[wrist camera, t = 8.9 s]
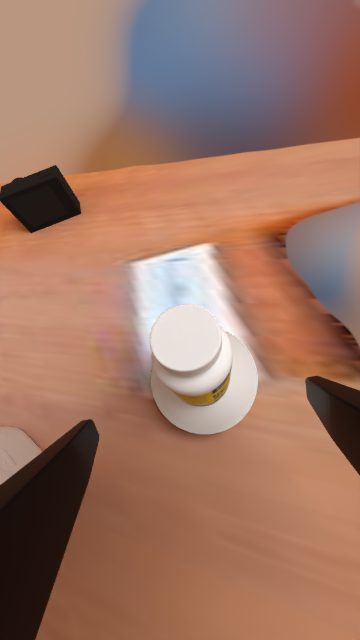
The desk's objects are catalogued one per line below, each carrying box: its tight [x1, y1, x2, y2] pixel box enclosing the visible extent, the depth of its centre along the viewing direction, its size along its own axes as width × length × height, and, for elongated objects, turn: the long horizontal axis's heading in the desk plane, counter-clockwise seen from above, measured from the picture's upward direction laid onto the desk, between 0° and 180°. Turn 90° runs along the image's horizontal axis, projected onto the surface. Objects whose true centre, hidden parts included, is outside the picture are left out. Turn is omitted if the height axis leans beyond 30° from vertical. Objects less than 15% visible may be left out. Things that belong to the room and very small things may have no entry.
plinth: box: [151, 331, 258, 434], centre depth 21 cm, size 10×10×2 cm
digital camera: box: [0, 165, 81, 233], centre depth 39 cm, size 10×5×7 cm, turn 108°
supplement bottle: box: [150, 304, 233, 406], centre depth 16 cm, size 5×5×10 cm
